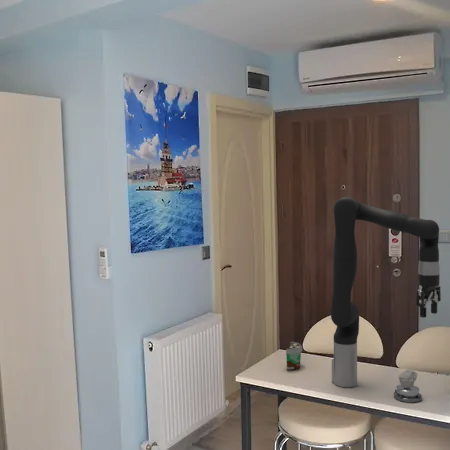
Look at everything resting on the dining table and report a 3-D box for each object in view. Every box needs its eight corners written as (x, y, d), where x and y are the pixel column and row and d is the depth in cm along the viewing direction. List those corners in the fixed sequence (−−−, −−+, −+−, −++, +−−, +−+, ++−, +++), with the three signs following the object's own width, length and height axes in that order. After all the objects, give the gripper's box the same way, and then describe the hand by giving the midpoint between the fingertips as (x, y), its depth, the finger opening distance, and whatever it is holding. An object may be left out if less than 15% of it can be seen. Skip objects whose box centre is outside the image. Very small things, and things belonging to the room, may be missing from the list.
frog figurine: (420, 390, 200) (420, 371, 199) (401, 391, 199) (401, 372, 199) (413, 384, 206) (413, 366, 205) (395, 385, 205) (395, 367, 205)
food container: (300, 373, 232) (300, 350, 232) (286, 371, 234) (286, 349, 233) (304, 364, 244) (304, 342, 243) (291, 363, 246) (290, 341, 245)
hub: (388, 397, 203) (388, 388, 203) (402, 390, 210) (402, 381, 210) (413, 405, 195) (413, 395, 195) (427, 397, 202) (427, 388, 202)
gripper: (428, 269, 212) (428, 310, 213) (410, 274, 202) (409, 316, 203) (447, 271, 206) (447, 313, 207) (429, 276, 197) (428, 320, 198)
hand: (428, 315), depth 205 cm, fingers open, 8 cm apart
